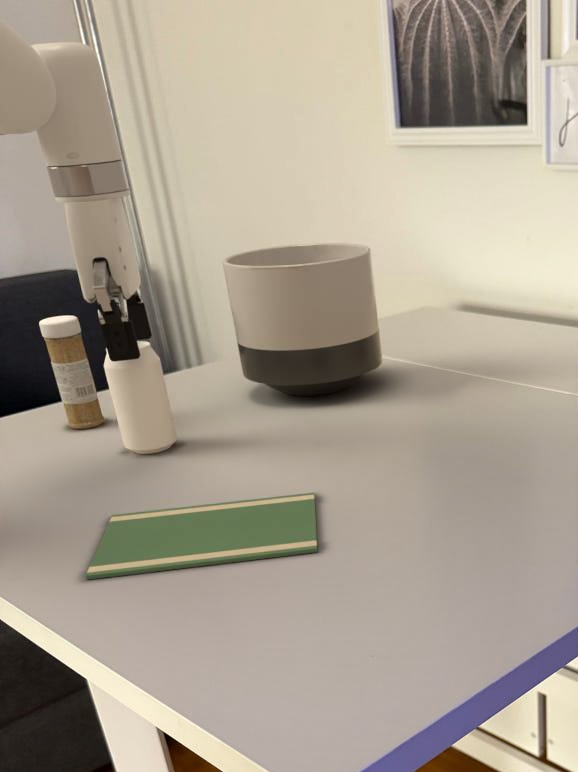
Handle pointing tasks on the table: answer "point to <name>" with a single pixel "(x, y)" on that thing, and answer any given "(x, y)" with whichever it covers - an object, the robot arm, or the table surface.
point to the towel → (206, 535)
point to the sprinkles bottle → (72, 371)
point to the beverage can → (141, 401)
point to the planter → (305, 316)
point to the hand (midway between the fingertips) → (132, 349)
